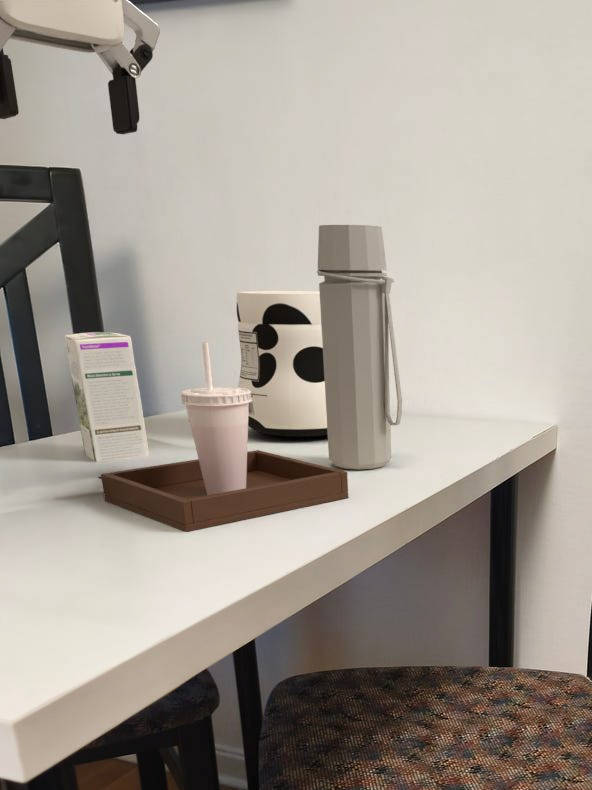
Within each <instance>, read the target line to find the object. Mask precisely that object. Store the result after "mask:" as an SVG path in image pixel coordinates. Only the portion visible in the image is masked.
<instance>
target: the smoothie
mask: <svg viewBox="0 0 592 790" xmlns="http://www.w3.org/2000/svg"><path fill="white" fill-rule="evenodd" d="M201 345H202V357H203V362H204V363H203V365H204V366H203V367H204V374H205V383H206V387H198V388H197V387H196V388H189V389H185V390H182V391H181V392H180V395H181V404H182V405H184V406H185V409H186V412H187V413H186V414H187V417H188V421H189V425H190V430H191V434H192V437H193V442H194V447H195V451H196V455H197V458H198V459H199V463H200V467H201V472H202V476H203V480H204V484H205V488H206V492H207V495H212V494H218V493H223V492H229V491H234V490H240V489H245V488H246V477H247V452H248V440H249V439H248V437H249V426H248V410H249V403H250V402H251V401H252V399H251V391H250V390H248V389H245V388H238V387H232V386H228V387H227V386H214V384H213V374H212V367H211V357H210V356H211V355H210V345H209V342H208V341H202V342H201Z"/></svg>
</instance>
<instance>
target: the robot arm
mask: <svg viewBox="0 0 592 790" xmlns="http://www.w3.org/2000/svg"><path fill="white" fill-rule="evenodd" d="M125 25H127V27H129V28H131V29H132V30H133V31H134V33H135V40H134V45H133V47H132V48H131V49H130V50H129V49H128V47H127V46H126V44H124V43H125V42H123V41H124V38H125ZM160 34H161V28H160V26H159V24H158V23H157V22H155V21H154V20H153V19H152V18H150V17H149V16H148V15H147V14H145V13H144V12H143V11H142V10H141V9H140V8H139V7H137V6H136V5H134V4H133V3H132V2H131V1H130V0H0V120H6V119H10V118H14V117H16V116H18V115H19V112H20V111H19V105H18V99H17V91H16V85H15V78H14V71H13V66H12V59H11V58H9V55H8V54H5V53H4V47H5V45H7V43H8V41H9V40H13V41H19V42H25V43H30V44H35V45H40V46H45V47H51V48H56V49H62V50H68V51H73V52H77V53H86V54H87V53H88V54H92V53H96V54H97V56H98V57H99V58H100V60H101V61H102V63H103V64H104V65H105V67H106V68H107V70H108V72H110V73H111V75H112V79H110V80H109V81H108V83H107V88H108V89H107V90H108V96H109V97H108V98H109V105H110V113H111V114H110V115H111V121H112V122H111V123H112V129H113V132H114V133H116V134H117V135H127V134H128V135H129V134H131V133H137V131H138V123H139V122H140V108H139V99H138V89H137V81H136V79H138V78H139V77H140V76H141V75H142V71H143V70H144V69H145V68H146V67H147V66H148V64H149V63H150V62H151V61H152V59H153V56H154V54H153V52H154V50H155V49H156V45H157V43H158V40H159V37H160Z"/></svg>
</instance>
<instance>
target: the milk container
mask: <svg viewBox="0 0 592 790" xmlns="http://www.w3.org/2000/svg"><path fill="white" fill-rule="evenodd" d="M236 317H237V321H238V323H237V325H238V326H237V331H238V339H239V347H240V348H239V349H240V361H241V363H240V364H241V365H240V373H239V378H238V385H237V388H245V389H248V390H250V391H251V399H252V401H251V402H250V403H249V410H248V428H250V429H251V430H253V431H254V432H258V433H261V434H266V435H270V436H277V437H279V436H280V437H299V438H300V437H305V438H306V437H321V436H328V432H327V415H326V397H325V379H324V362H323V344H322V326H321V309H320V291H319V290H251V291H250V290H249V291H248V290H247V291H237V292H236Z"/></svg>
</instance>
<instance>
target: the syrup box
mask: <svg viewBox="0 0 592 790" xmlns="http://www.w3.org/2000/svg"><path fill="white" fill-rule="evenodd" d="M64 342H65V348H66V349H65V350H66V354H67V355H66V356H67V361H68V367H69V372H70V377H71V384H72V389H73V393H74V400H75V404H76V411H77V416H78V423H79V428H80V434H81V439H82V445H83V451H84V455H86V456H87V457H88V458H90V460H93V461H94V462H96V463H99V462H108V461H109V462H110V461H111V462H112V461H120V460H121V461H122V460H129V459H137V458H139V459H141V458H147V457H150V451H149V450H150V449H149V444H148V436H147V431H146V425H145V424H146V423H145V418H144V412H143V405H142V397H141V393H140V386H139V381H138V373H137V367H136V362H135V361H136V360H135V354H134V350H133V342H132V337H131V335H127V334H122V333H118V332H111V331H109V332H105V331H92V332H90V331H89V332H79V333H71V334H64ZM97 478H98V479H101V476H98V477H97Z"/></svg>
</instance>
